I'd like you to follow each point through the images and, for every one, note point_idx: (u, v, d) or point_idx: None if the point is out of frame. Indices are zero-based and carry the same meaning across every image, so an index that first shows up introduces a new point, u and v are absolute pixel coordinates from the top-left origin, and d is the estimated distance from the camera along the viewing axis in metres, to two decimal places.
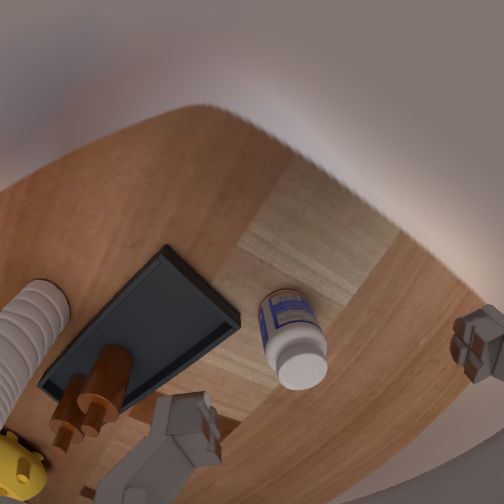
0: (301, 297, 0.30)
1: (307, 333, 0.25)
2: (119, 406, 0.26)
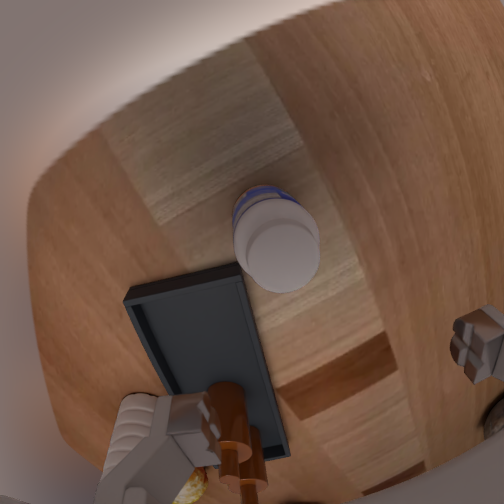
0: (249, 191, 0.24)
1: (250, 220, 0.18)
2: (239, 436, 0.25)
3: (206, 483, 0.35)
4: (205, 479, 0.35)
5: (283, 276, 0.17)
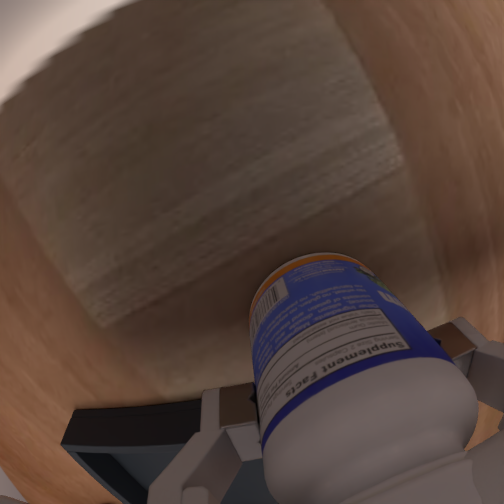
0: (291, 275, 0.10)
1: (328, 453, 0.05)
2: None
3: None
4: None
5: None
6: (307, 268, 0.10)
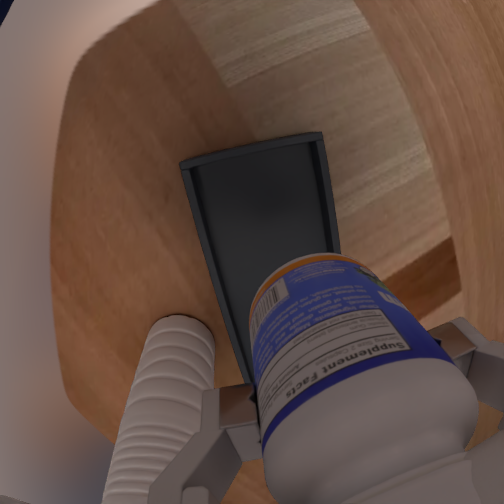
0: (291, 276, 0.10)
1: (329, 454, 0.05)
2: None
3: None
4: None
5: None
6: (307, 268, 0.10)
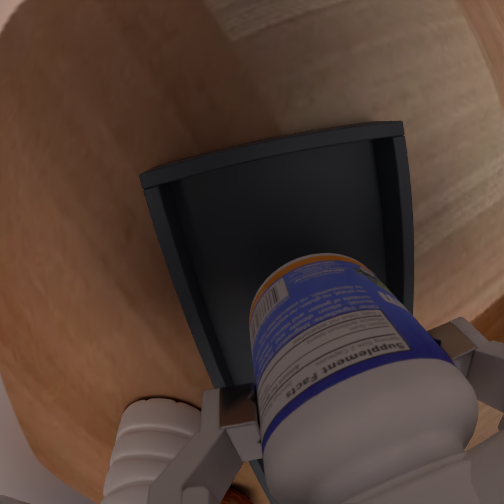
0: (291, 276, 0.10)
1: (329, 455, 0.05)
2: None
3: None
4: None
5: None
6: (307, 269, 0.10)
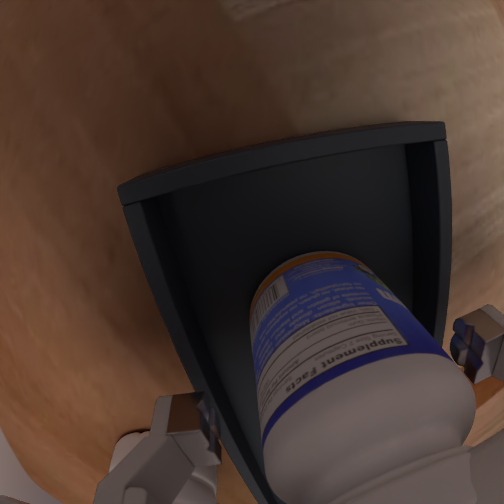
0: (290, 273, 0.10)
1: (327, 448, 0.05)
2: None
3: None
4: None
5: None
6: (307, 266, 0.10)
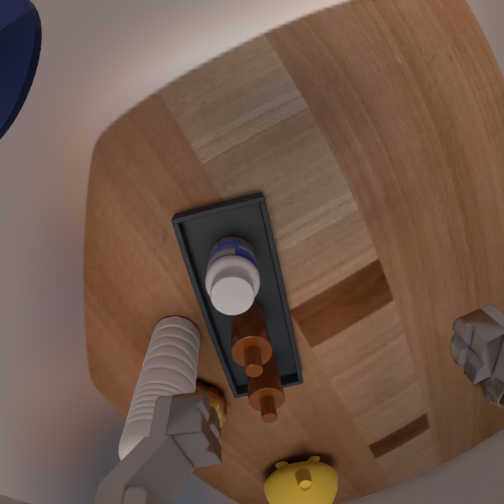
0: (219, 243, 0.35)
1: (214, 270, 0.30)
2: (262, 334, 0.33)
3: (226, 415, 0.43)
4: (225, 411, 0.44)
5: (232, 305, 0.29)
6: (224, 241, 0.35)
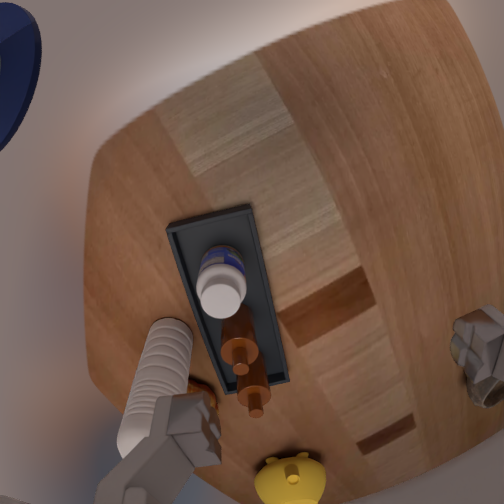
0: (210, 251, 0.38)
1: (204, 277, 0.33)
2: (248, 335, 0.36)
3: (217, 411, 0.46)
4: (216, 407, 0.46)
5: (220, 310, 0.31)
6: (214, 249, 0.38)
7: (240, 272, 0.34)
